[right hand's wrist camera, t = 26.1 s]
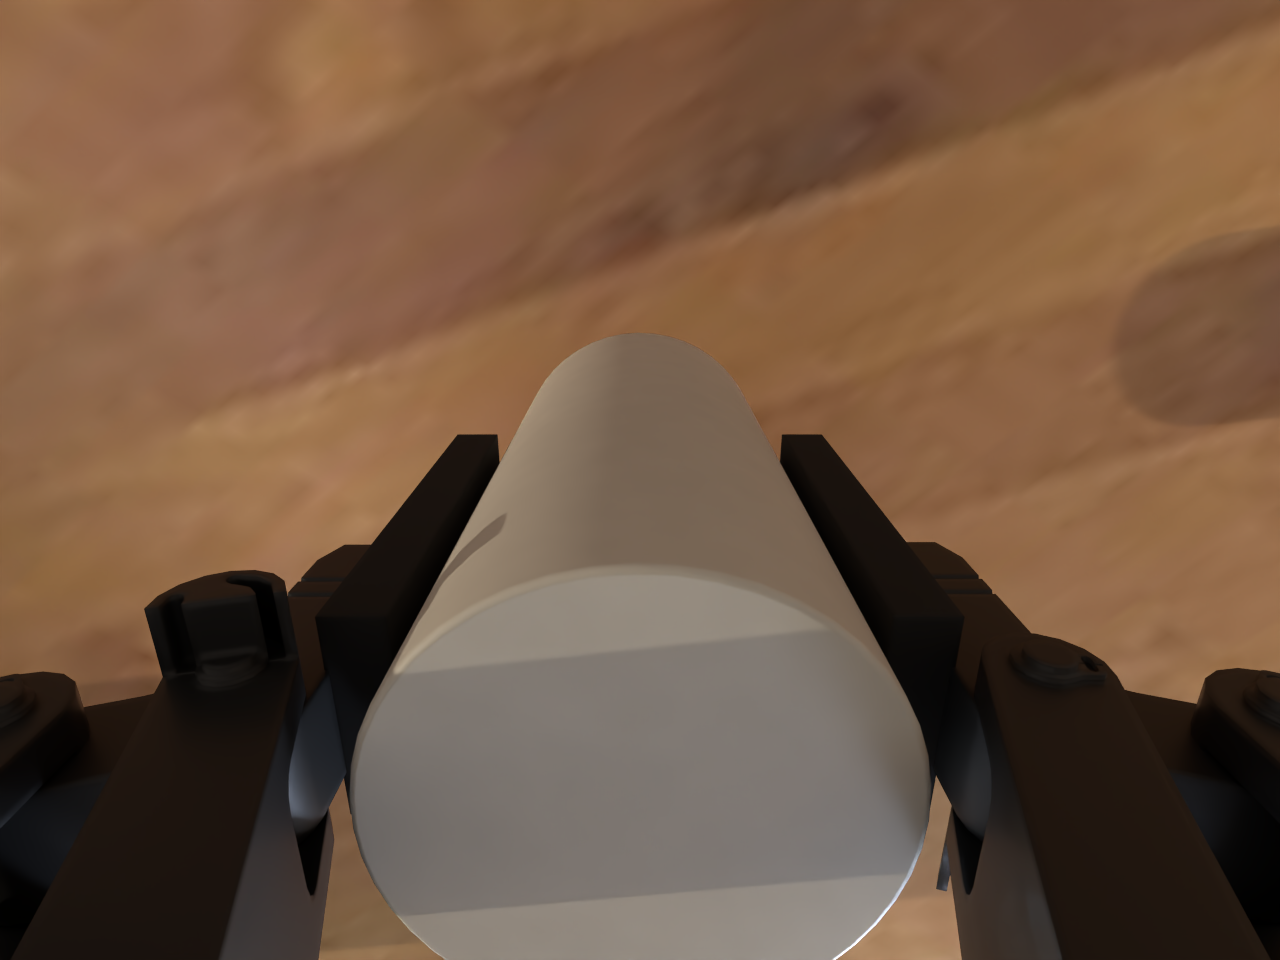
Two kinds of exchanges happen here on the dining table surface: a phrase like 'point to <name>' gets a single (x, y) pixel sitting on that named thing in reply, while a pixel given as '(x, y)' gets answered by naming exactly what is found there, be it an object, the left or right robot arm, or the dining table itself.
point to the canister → (640, 698)
